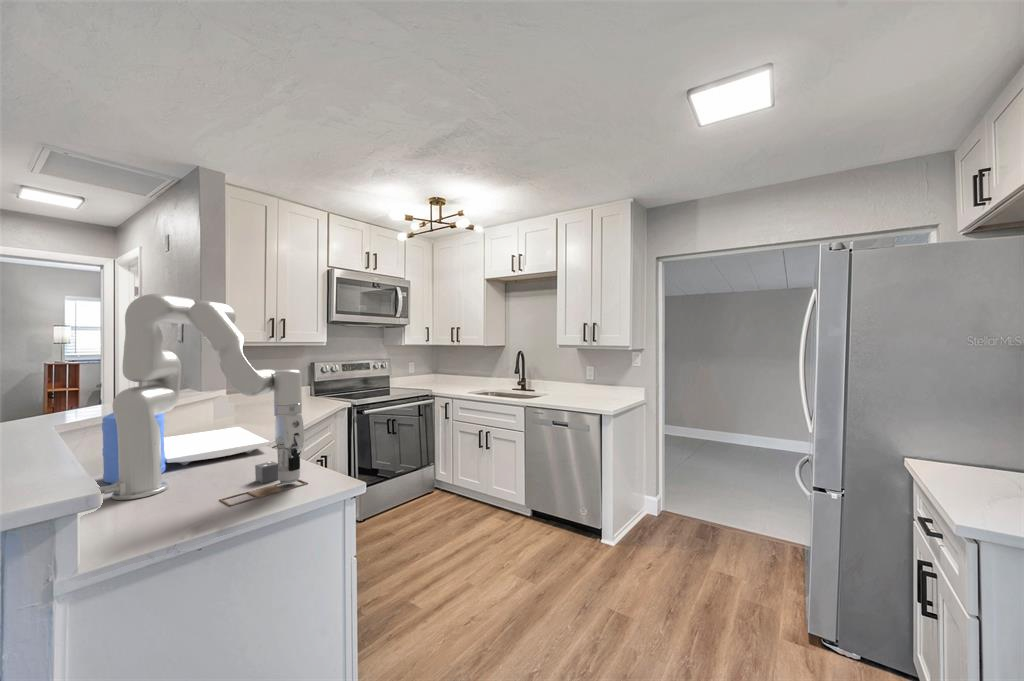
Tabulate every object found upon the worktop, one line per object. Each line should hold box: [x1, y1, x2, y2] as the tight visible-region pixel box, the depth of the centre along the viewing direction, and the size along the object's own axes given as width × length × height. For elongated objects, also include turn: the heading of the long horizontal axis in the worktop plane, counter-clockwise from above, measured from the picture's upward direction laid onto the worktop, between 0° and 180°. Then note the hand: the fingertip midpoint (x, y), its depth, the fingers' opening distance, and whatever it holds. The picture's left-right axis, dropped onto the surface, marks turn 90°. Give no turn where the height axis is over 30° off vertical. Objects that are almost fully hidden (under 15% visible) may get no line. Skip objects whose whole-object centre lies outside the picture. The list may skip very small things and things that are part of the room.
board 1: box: [164, 426, 271, 466], centre depth 173 cm, size 45×32×5 cm
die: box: [254, 461, 279, 484], centre depth 135 cm, size 5×5×5 cm
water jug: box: [101, 412, 167, 484], centre depth 141 cm, size 16×16×28 cm
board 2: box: [218, 478, 309, 507], centre depth 124 cm, size 21×7×1 cm, turn 143°
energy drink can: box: [277, 436, 301, 485], centre depth 130 cm, size 6×6×15 cm
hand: (289, 467), depth 130 cm, fingers closed on energy drink can, 6 cm apart
